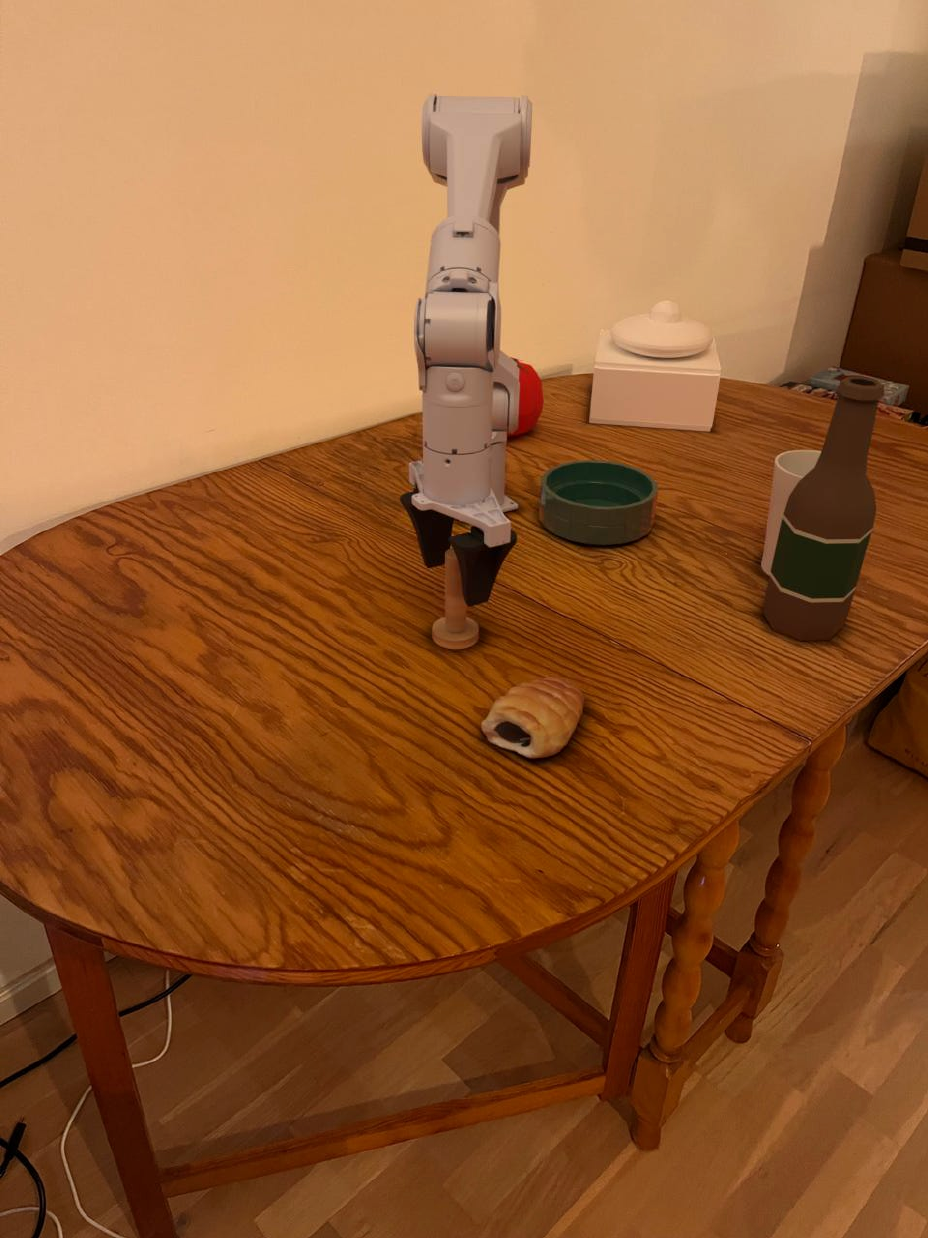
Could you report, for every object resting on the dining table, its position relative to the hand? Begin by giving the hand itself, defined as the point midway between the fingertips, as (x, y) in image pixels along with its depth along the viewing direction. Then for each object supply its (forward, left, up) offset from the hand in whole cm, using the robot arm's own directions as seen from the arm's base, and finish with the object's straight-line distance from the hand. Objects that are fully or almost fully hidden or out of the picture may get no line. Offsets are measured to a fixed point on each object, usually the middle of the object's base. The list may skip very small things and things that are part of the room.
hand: (455, 582), depth 83 cm
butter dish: (-41, +57, -6) cm, 70 cm away
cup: (+6, +38, -6) cm, 39 cm away
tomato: (-43, +31, -6) cm, 53 cm away
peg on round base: (0, 0, -6) cm, 6 cm away
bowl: (-13, +26, -6) cm, 30 cm away
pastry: (+15, -1, -6) cm, 16 cm away
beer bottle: (+14, +31, -6) cm, 35 cm away
